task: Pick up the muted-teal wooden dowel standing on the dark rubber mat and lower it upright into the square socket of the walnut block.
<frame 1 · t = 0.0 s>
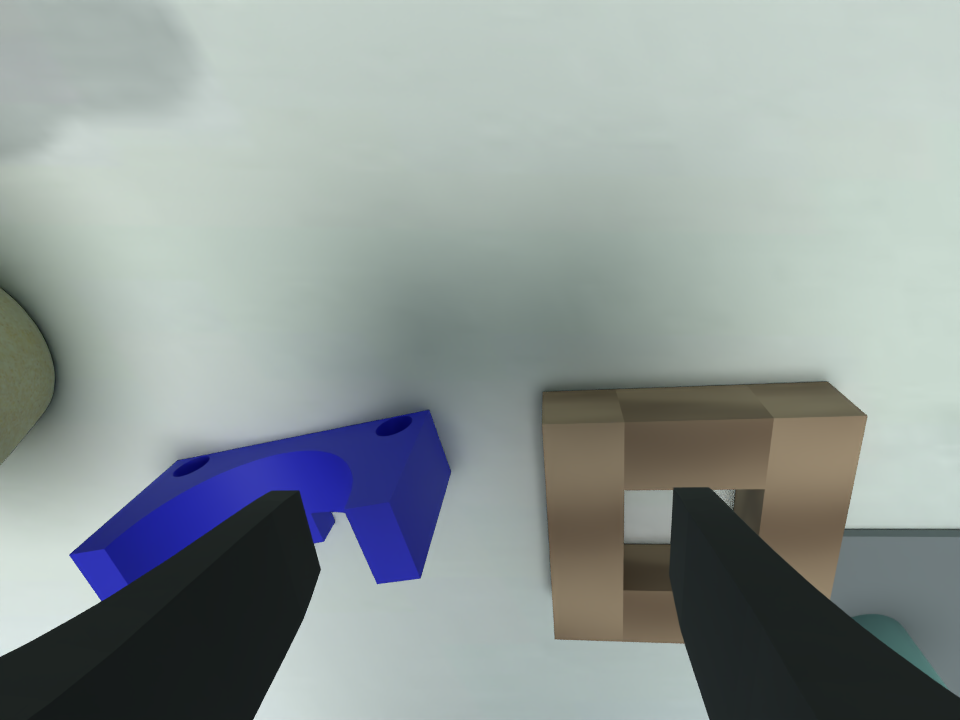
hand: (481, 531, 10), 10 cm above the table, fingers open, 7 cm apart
socket block: (674, 499, 21), on the table
peg: (866, 640, 22), resting on mat
mat: (859, 640, 23), on the table
cable clip: (319, 474, 23), on the table
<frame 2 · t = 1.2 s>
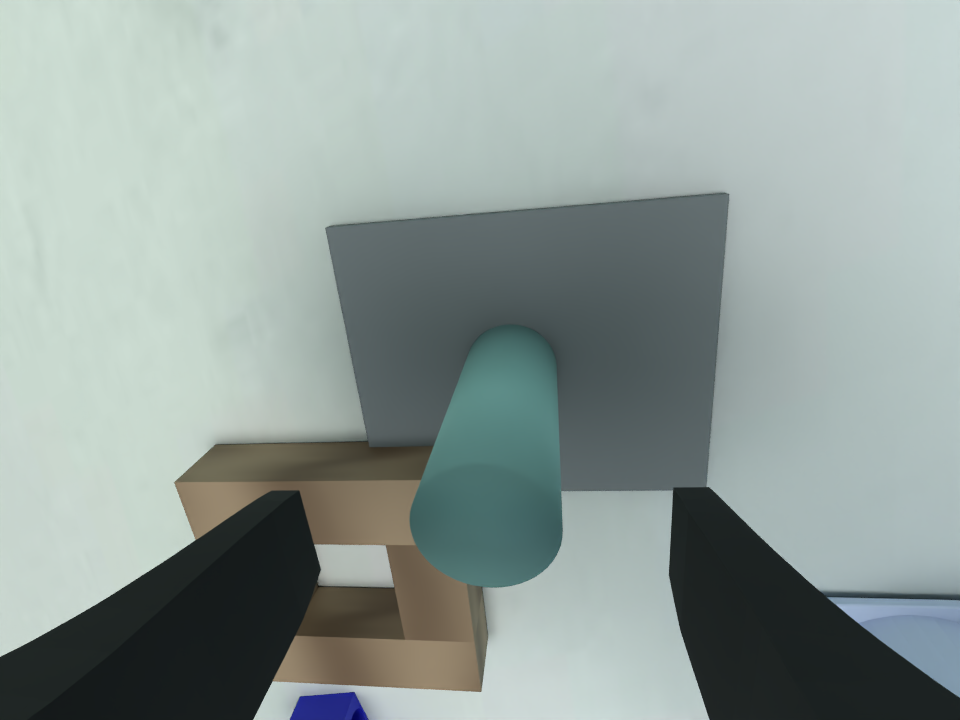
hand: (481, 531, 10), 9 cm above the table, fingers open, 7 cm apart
socket block: (358, 545, 22), on the table
peg: (511, 367, 18), resting on mat
mat: (526, 361, 18), on the table
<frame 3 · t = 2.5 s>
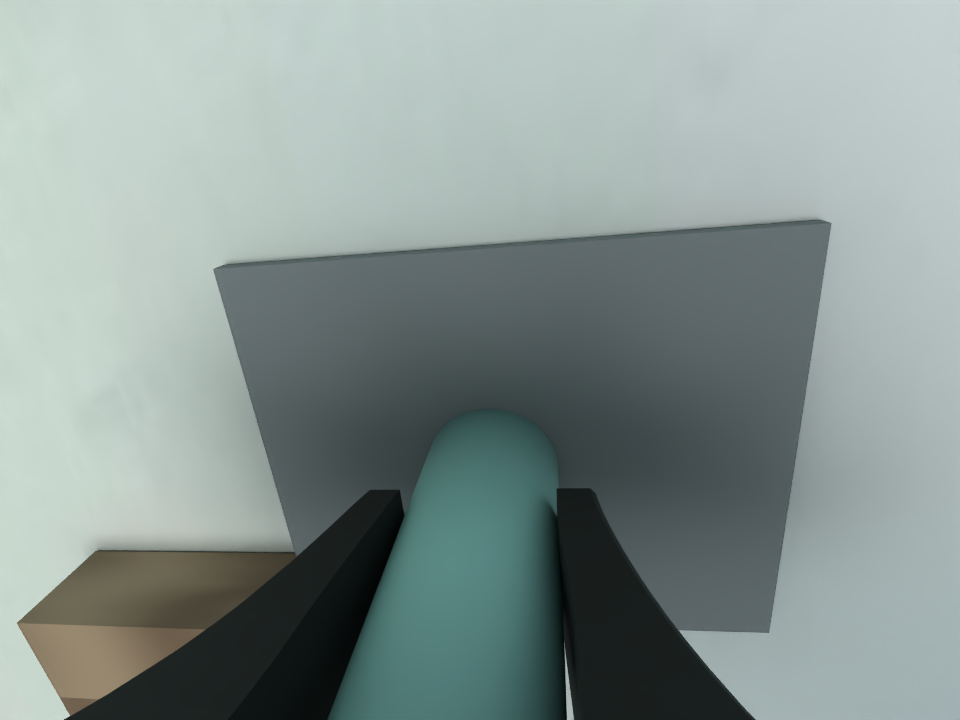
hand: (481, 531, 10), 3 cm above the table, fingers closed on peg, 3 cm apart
socket block: (294, 677, 17), on the table
peg: (492, 466, 12), resting on mat, touching gripper
mat: (515, 456, 12), on the table
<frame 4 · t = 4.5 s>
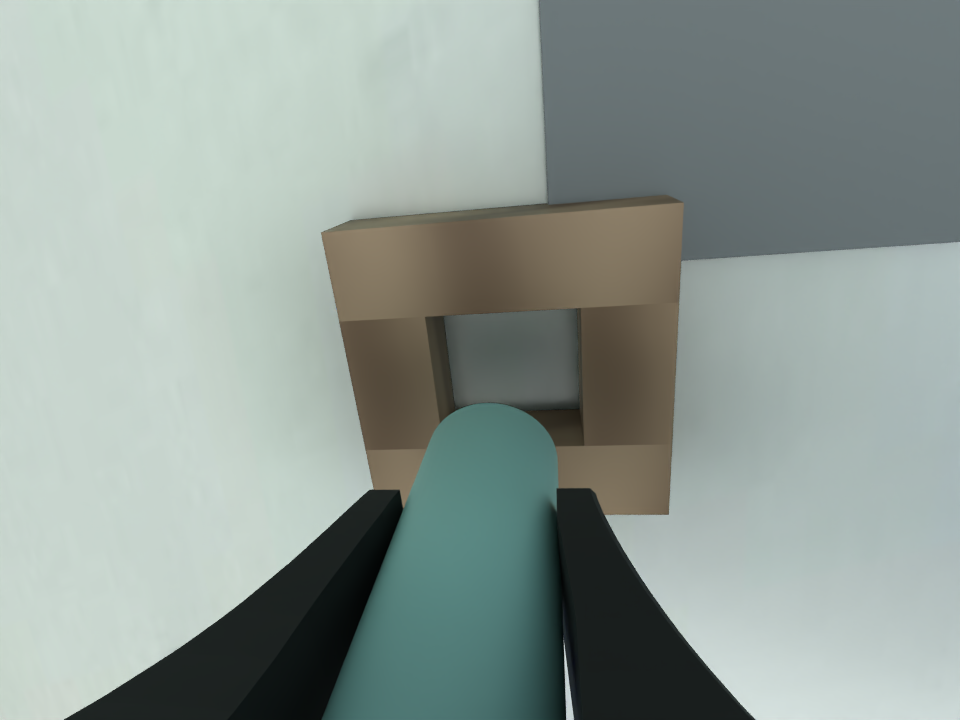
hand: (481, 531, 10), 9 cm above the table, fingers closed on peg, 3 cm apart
socket block: (512, 353, 19), on the table
peg: (492, 460, 12), point 7 cm above the table, touching gripper
mat: (762, 72, 14), on the table
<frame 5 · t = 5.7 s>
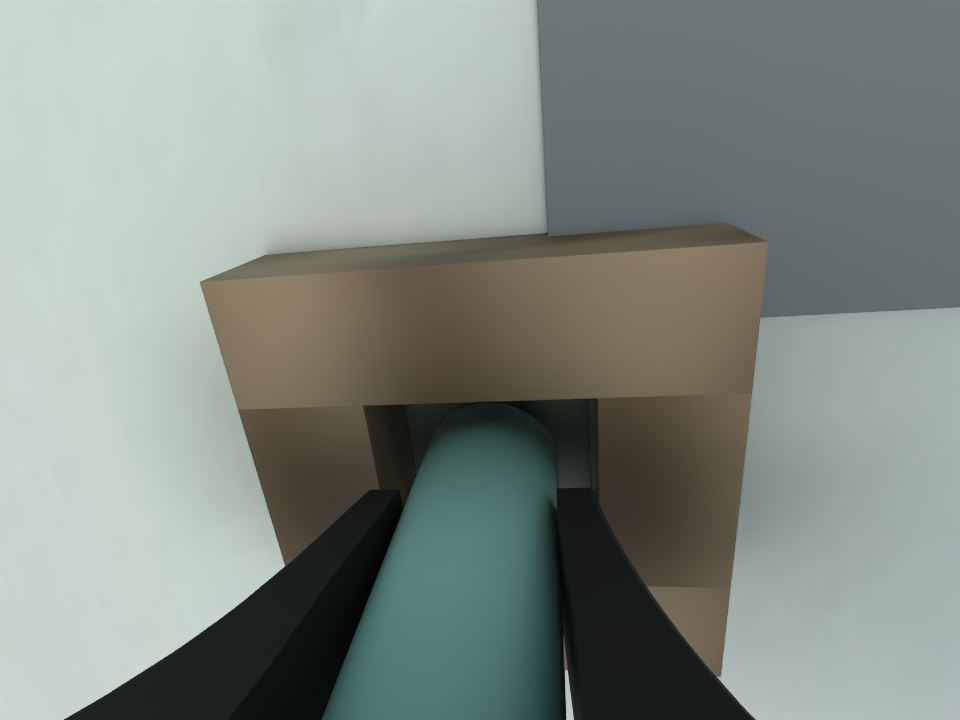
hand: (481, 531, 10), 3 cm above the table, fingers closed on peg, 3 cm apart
socket block: (497, 437, 13), on the table
peg: (492, 460, 12), point 1 cm above the table, touching gripper
mat: (884, 33, 9), on the table
when the fingers open (3 cm above the table, at t = 6.7 s): peg drops 1 cm, resting in socket block.
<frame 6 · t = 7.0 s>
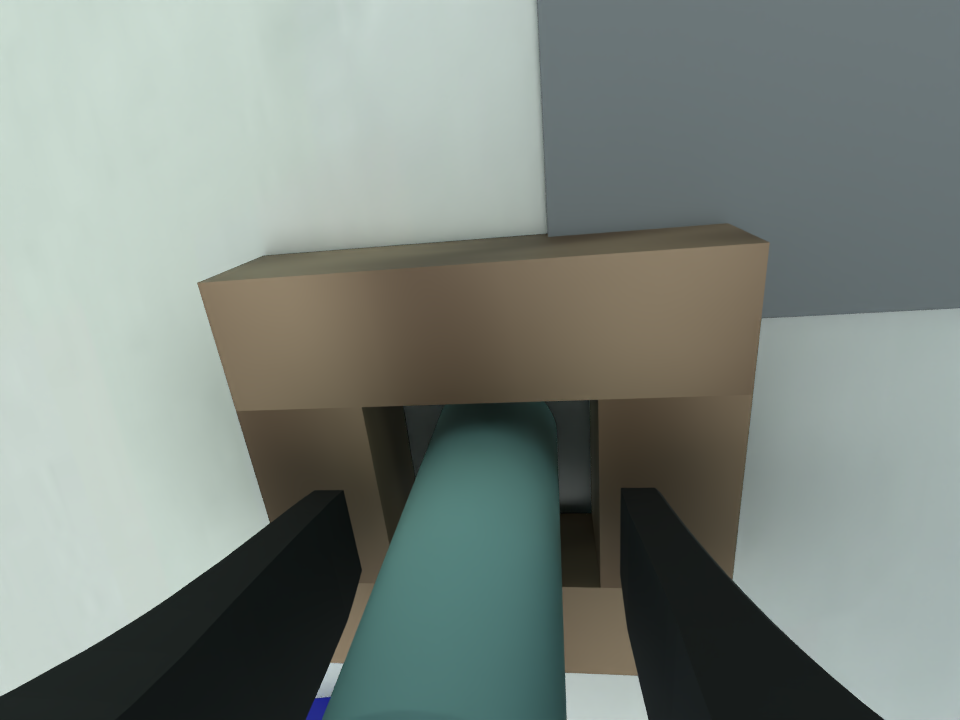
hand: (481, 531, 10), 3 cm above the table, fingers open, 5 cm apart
socket block: (497, 439, 13), on the table
peg: (496, 434, 13), resting in socket block
mat: (886, 32, 9), on the table
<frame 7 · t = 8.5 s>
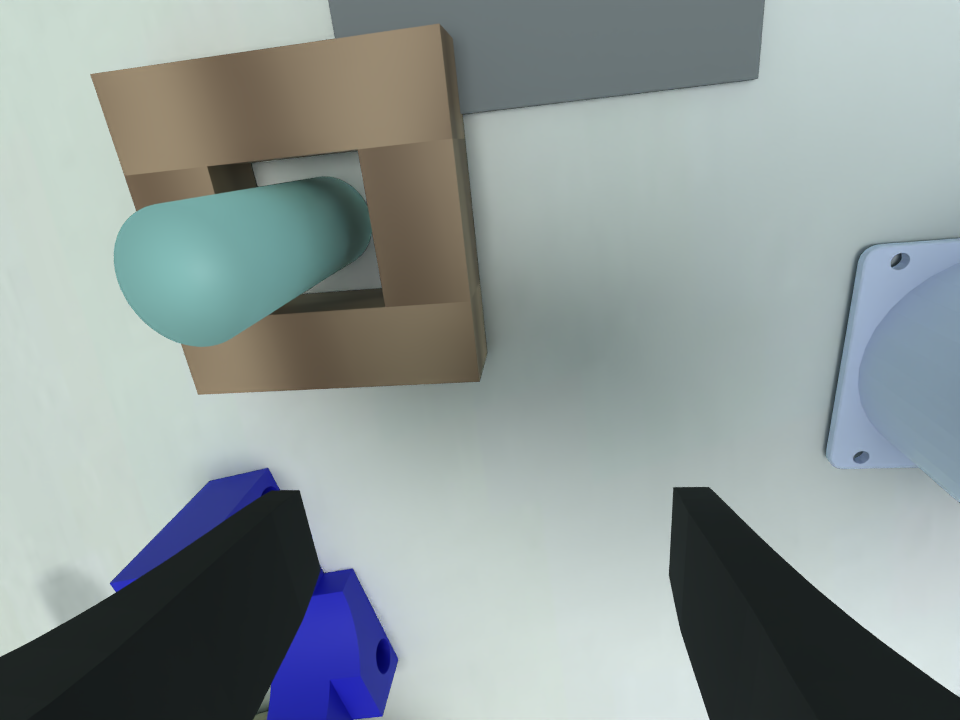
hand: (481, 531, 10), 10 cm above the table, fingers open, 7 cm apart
socket block: (330, 226, 18), on the table
peg: (329, 222, 18), resting in socket block
cable clip: (312, 570, 25), on the table
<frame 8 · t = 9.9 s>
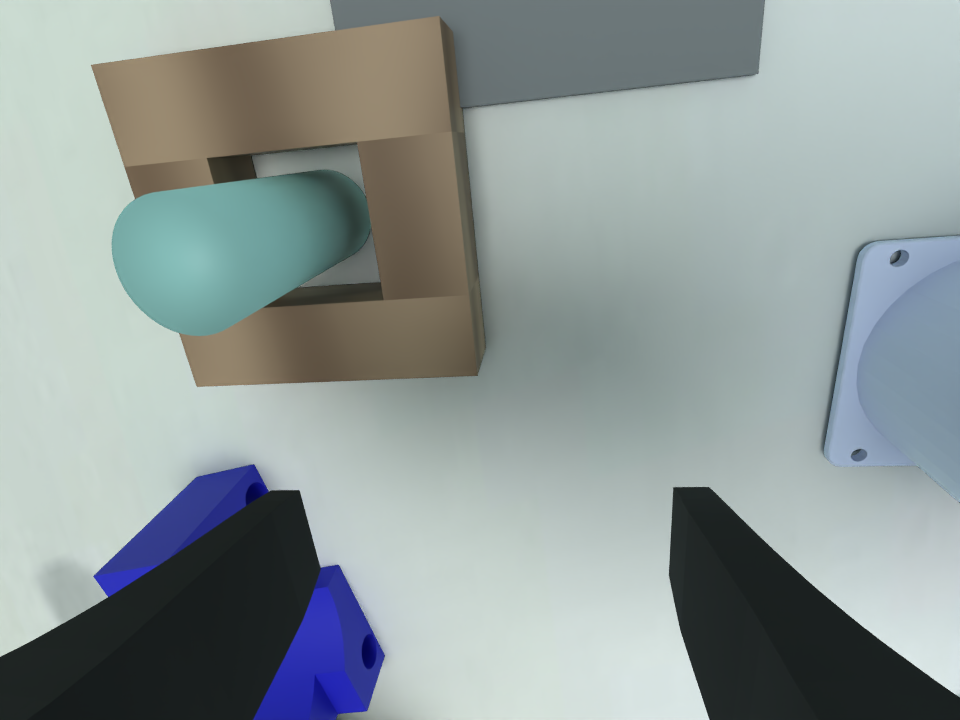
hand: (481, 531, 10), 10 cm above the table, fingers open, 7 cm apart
socket block: (329, 219, 18), on the table
peg: (328, 215, 18), resting in socket block
cable clip: (300, 565, 25), on the table
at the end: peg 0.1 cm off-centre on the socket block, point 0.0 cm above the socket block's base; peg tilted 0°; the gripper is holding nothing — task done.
